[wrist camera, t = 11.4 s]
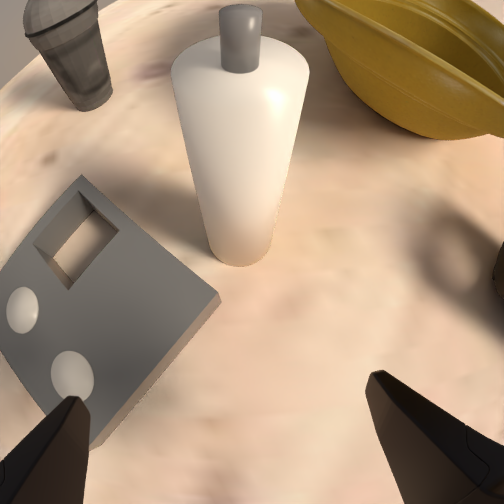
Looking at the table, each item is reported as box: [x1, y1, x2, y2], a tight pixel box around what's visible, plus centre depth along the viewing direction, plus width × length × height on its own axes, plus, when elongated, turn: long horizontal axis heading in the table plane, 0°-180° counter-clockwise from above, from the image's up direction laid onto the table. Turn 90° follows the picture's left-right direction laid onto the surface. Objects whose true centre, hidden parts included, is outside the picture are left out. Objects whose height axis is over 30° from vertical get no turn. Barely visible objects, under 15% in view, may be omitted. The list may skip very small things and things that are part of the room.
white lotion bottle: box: [171, 4, 310, 267], centre depth 14 cm, size 4×4×16 cm
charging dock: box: [0, 174, 221, 451], centre depth 18 cm, size 14×14×3 cm
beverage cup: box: [23, 0, 113, 112], centre depth 17 cm, size 7×7×20 cm
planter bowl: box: [295, 0, 504, 140], centre depth 22 cm, size 32×32×13 cm
